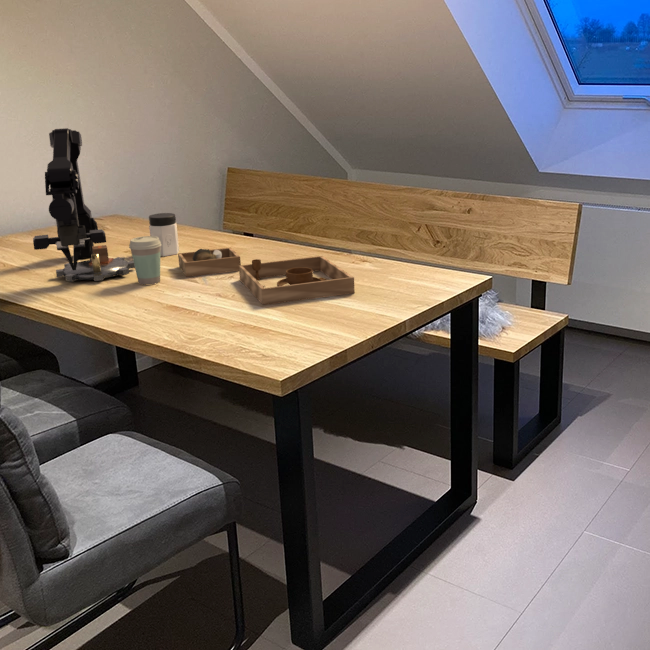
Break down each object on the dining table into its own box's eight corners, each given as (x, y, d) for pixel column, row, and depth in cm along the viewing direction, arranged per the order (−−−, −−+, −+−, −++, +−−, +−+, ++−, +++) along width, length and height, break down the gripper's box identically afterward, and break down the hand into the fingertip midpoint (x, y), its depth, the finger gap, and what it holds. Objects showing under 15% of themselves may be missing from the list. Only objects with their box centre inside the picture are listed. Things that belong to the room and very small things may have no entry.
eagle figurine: (193, 262, 232) (186, 264, 223) (206, 241, 231) (199, 242, 222) (216, 276, 232) (209, 278, 223) (228, 255, 231) (222, 257, 222)
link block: (93, 259, 234) (92, 246, 233) (107, 258, 235) (106, 244, 234) (94, 262, 230) (92, 248, 229) (108, 261, 231) (107, 247, 230)
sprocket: (56, 267, 235) (53, 245, 233) (131, 258, 241) (129, 237, 239) (57, 285, 215) (53, 262, 213) (139, 275, 221) (136, 252, 219)
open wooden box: (179, 266, 233) (178, 253, 231) (231, 260, 237) (230, 247, 236) (186, 277, 221) (184, 263, 220) (241, 270, 226) (240, 256, 224)
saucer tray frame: (239, 279, 216) (238, 265, 215) (322, 269, 223) (321, 255, 222) (263, 305, 193) (262, 289, 192) (354, 293, 200) (354, 277, 198)
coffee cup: (154, 276, 223) (149, 234, 220) (171, 281, 217) (166, 238, 214) (127, 282, 218) (122, 239, 214) (144, 288, 212) (139, 244, 208)
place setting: (276, 299, 199) (275, 276, 197) (249, 281, 216) (247, 260, 214) (339, 289, 206) (338, 266, 204) (308, 272, 223) (307, 251, 221)
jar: (157, 257, 244) (153, 219, 241) (147, 253, 251) (143, 215, 247) (184, 253, 249) (180, 215, 245) (174, 248, 256) (170, 211, 252)
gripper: (29, 222, 204) (38, 281, 209) (103, 215, 210) (111, 272, 215) (29, 215, 214) (38, 271, 219) (101, 208, 220) (108, 263, 225)
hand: (74, 270), depth 219 cm, fingers closed
